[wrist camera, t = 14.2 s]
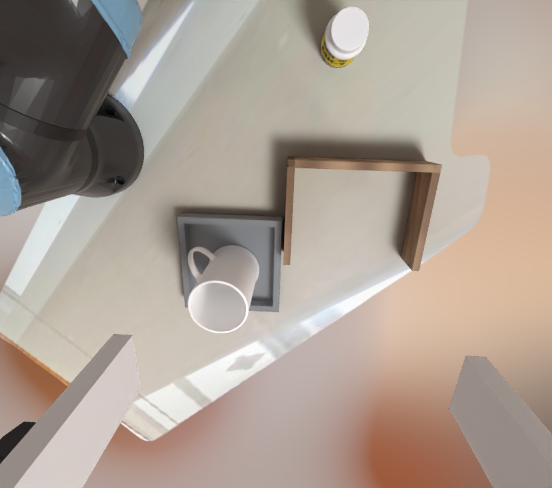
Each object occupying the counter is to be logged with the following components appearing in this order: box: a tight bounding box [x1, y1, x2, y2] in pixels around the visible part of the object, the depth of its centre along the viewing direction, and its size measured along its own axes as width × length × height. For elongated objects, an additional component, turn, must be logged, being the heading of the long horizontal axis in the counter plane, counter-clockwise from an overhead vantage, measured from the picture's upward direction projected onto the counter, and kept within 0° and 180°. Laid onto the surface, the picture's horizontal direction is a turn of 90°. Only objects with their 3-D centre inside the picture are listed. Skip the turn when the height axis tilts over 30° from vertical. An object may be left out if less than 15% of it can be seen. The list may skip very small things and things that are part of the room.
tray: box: [177, 213, 282, 312], centre depth 50 cm, size 16×16×2 cm
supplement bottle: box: [320, 6, 369, 68], centre depth 36 cm, size 5×5×8 cm
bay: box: [283, 157, 442, 271], centre depth 45 cm, size 20×15×5 cm
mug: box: [188, 245, 259, 333], centre depth 45 cm, size 12×8×12 cm
